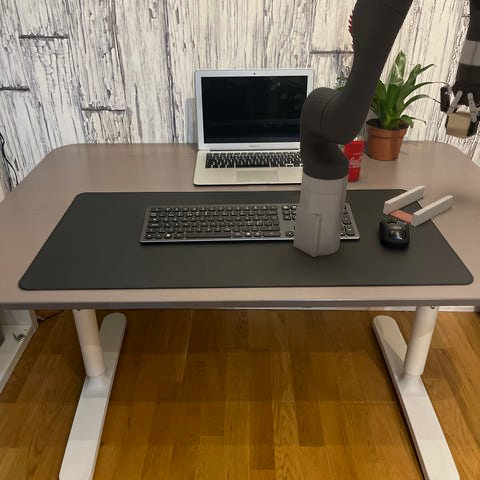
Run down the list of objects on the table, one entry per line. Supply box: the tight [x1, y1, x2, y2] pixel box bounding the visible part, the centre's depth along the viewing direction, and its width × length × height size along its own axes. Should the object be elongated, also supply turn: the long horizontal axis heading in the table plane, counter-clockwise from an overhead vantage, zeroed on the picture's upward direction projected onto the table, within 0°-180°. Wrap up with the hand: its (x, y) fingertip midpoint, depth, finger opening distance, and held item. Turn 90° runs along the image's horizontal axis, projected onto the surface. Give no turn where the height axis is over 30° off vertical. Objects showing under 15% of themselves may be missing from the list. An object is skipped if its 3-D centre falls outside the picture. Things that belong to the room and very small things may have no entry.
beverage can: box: [343, 134, 365, 182], centre depth 137 cm, size 5×5×12 cm
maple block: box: [445, 109, 480, 140], centre depth 121 cm, size 6×5×5 cm
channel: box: [382, 185, 454, 227], centre depth 122 cm, size 16×9×3 cm, turn 131°
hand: (459, 132), depth 121 cm, fingers closed on maple block, 5 cm apart
